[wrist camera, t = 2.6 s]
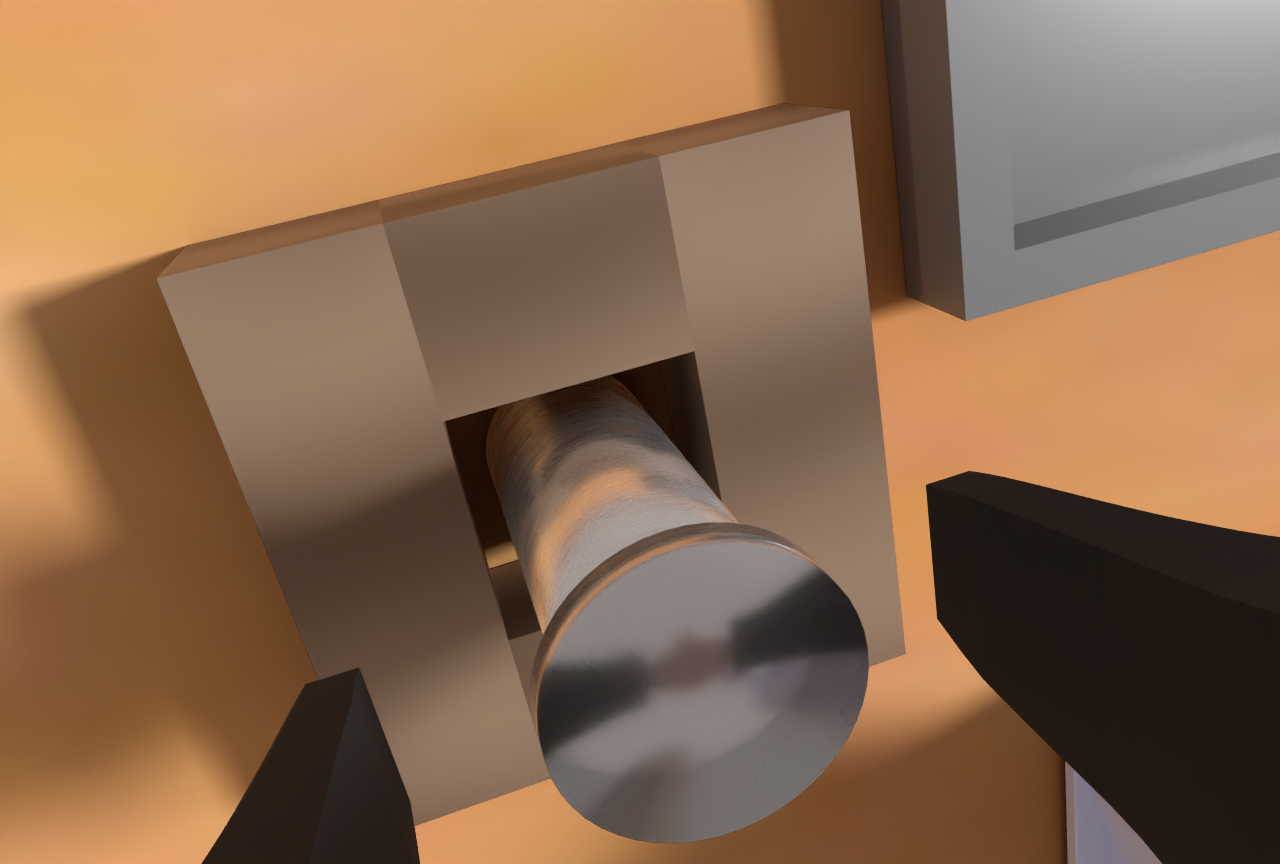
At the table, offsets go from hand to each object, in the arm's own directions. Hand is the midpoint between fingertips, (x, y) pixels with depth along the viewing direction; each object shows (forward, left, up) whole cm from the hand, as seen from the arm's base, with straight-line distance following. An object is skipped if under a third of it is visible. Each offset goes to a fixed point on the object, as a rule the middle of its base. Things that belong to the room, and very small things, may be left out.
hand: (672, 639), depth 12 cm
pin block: (0, 0, -7) cm, 7 cm away
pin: (0, 0, -7) cm, 7 cm away
